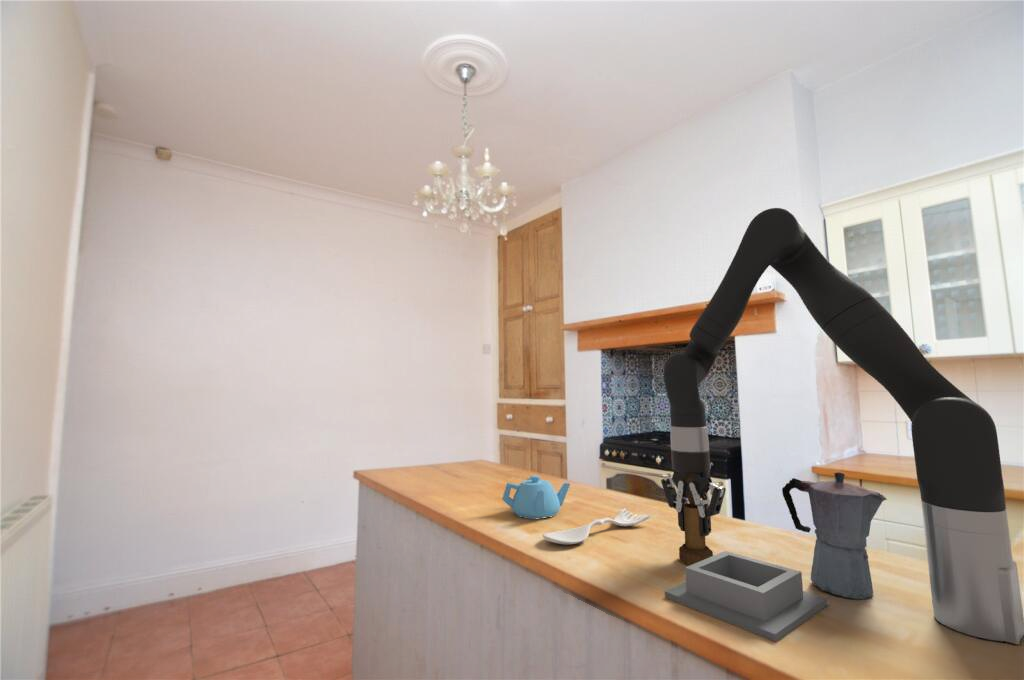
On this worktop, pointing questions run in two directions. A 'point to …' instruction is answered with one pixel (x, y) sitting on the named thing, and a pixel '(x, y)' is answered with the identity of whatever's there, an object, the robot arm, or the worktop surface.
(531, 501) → the teapot
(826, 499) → the moka pot
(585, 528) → the white spork utensil
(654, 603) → the worktop surface
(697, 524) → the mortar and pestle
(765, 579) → the socket board
